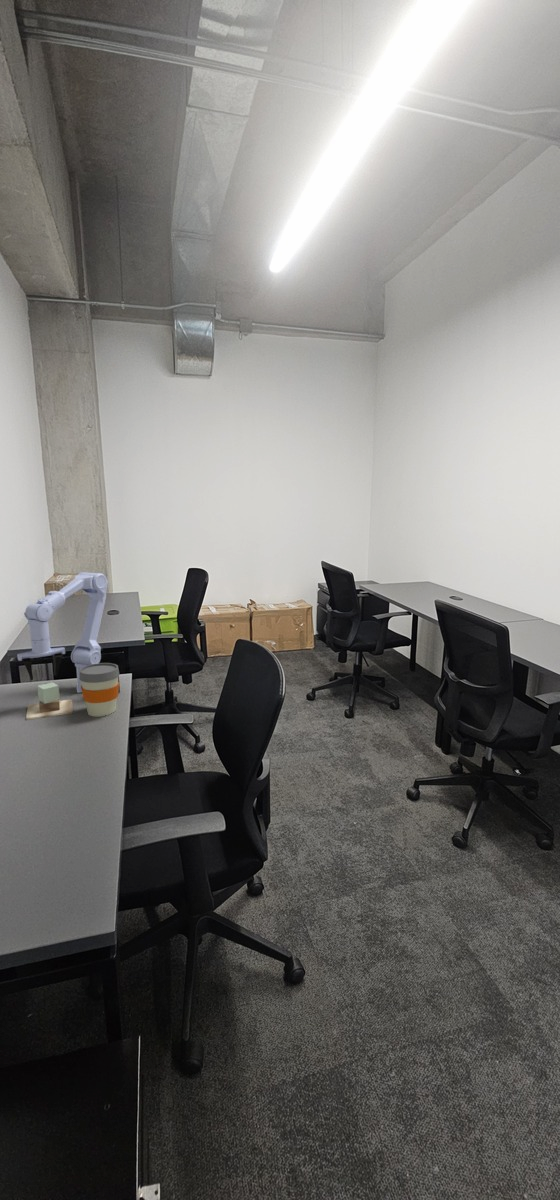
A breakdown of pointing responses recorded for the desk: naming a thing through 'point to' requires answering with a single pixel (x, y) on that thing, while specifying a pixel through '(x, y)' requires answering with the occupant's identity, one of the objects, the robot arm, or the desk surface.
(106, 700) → the reusable coffee cup
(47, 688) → the sage cube
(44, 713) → the baseplate
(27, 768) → the desk surface
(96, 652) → the robot arm
